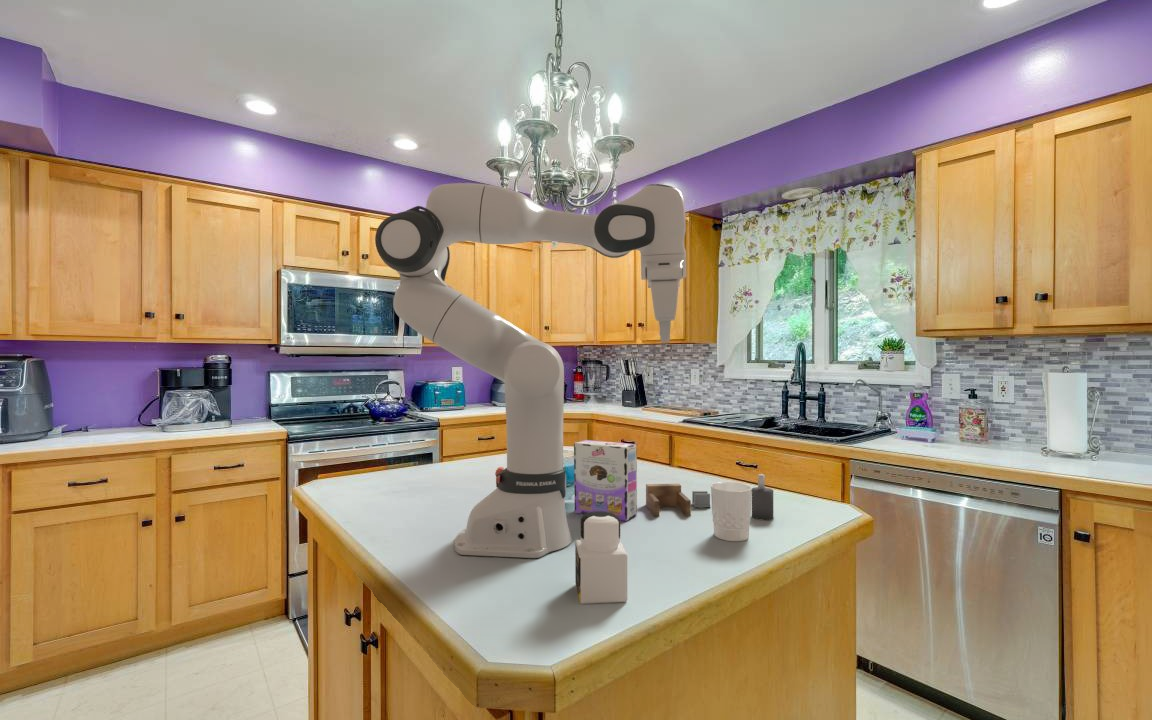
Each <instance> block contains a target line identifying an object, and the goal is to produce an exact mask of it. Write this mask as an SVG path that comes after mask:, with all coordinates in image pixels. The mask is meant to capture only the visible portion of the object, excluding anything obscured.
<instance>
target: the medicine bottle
mask: <svg viewBox="0 0 1152 720" xmlns="http://www.w3.org/2000/svg"><path fill="white" fill-rule="evenodd" d="M574 545H575V548H574V549H575V551H574V552H575V553H574V554H575V561H574V562H575V565H574V566H575V576H574V577H575V581H574V582H575V587H576V593H577V598H578V602H579V604H581V605H585V604H609V603H610V604H611V603H612V604H613V603H616V604H617V603H627V601H628V554H627V552H626V549H625V548H624V546H623V543H622V541H621V520H620V518H619V517H618V516H617V515H615V514H613V513H610V512H605V511H595V512H590V513H587V514H582V517H581V518H580V539H576V540H575V543H574Z"/></svg>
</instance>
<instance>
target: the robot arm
mask: <svg viewBox="0 0 1152 720" xmlns="http://www.w3.org/2000/svg"><path fill="white" fill-rule="evenodd" d="M684 200H685V199H684V197H683V195H682V192H681V191H680V190H679V189H678V188H676V187H674V186H671V185H667V184H660V183H655V184H654V183H651V184H646V185H644V186H643V187H642V189H640V190H639V191H637V192H636V193H634V194H632V195H631V196H629V197H628V198H625V199H624V200H621V201H619V202H616V203H613V204H610V205H608V206H606V207H605V208H603V209H602V210H601V211H600V212H599V213H596V214H589V215H588V214H582V213H574V212H567V211H562V210H554V209H550V208H548V207H546V206H542V205H541V204H539V203H537V202H536V201H534V200H532V199H531V198H529V197H528V196H527V195H526V194H524V193H521V192H519V191H516V190H514V189H510V188H507V187H503V186H499V185H492V184H486V183H485V184H484V183H469V182H468V183H467V182H465V183H464V182H458V183H445V184H439V185H437V186H435V187H434V188H433V189H432V190H431V191H430V193H429V195H428V197H427V199H426V205H425V207H424V206H423V205H422V206H421V205H416V206H413V207H411V208H409V209H407V210H405V211H400V212H397V213H395V214H391V215H390V216H388V217H386V218H385V219H384V220H382V222H381V223H380V224H379V225H378V227H377V229H376V232H375V237H374V241H375V248H376V250H377V253H378V256H379V257H380V258H381V259H382V261H383V262H384V264H385V265H386V266H388V267H389V268H390V269H392V270H394V271H396V272H397V274H399V279H400V281H399V282H400V283H399V286H398V287H397V289H396V291H395V293H394V297H393V302H392V305H393V309H394V312H395V314H396V315H397V316H398V318H399V319H401V320H402V321H403V322H404V323H405V324H407V325H408V326H409V327H410V328H411V329H412V330H414V331H415V332H417V333H418V334H419V335H421V336H422V337H424V338H425V339H426V340H429V341H430V342H432V343H433V344H435V345H437V346H438V347H440V348H441V349H443V350H445V351H447V352H448V353H450V354H452V355H454V356H455V357H457V358H459V359H460V360H461V361H464V362H465V363H467V364H469V365H471V366H472V367H475V368H477V369H478V370H481V372H482V371H483V372H485V373H487V374H488V375H490V376H492V377H494V378H496V379H498V380H500V381H501V382H503V383H504V403H505V404H504V405H505V420H506V421H505V422H506V423H505V424H506V468H504V467H503V466H499V467H498V468H496V469H495V472H494V473H495V487H496V488H495V489H494V490H493V491H492V492H490V493H489V494H488V495H486V496H485V497H484V498H483V499H481V500H480V501H479V502H477V503H476V504H475V505H474V507H473V508H472V509H471V511H470V513H469V516H468V517H467V518H468V519H467V524H466V528H464V529H462V530H461V531H460V532H459V533H458V534H457V535H456V537H455V539H454V545H453V546H454V551H455V552H456V553H457V554H459V555H462V556H479V557H480V556H484V557H501V558H502V557H504V558H505V557H506V558H527V559H536V558H537V559H538V558H542V557H543V556H546V555H547V554H549V553H551V552H554V551H558V550H561V549H564V548H566V547H567V546H568V545H570V544H571V543H572V541H573V538H572V535H571V530H570V528H569V524H568V519H567V518H568V517H567V511H566V510H567V509H566V504H565V502H566V501H565V498H566V493H567V474H566V468H565V467H564V409H565V408H564V407H565V406H564V405H565V404H564V402H565V400H564V395H565V394H564V393H565V390H564V389H565V365H564V362H563V359H562V357H561V355H560V354H559V352H558V350H556V348H554V347H553V346H551V345H550V344H549V343H546V342H544V341H541V340H539V339H537V338H536V337H534V336H533V335H531V334H529V333H528V332H526V331H524V330H523V329H522V328H520V327H519V326H516V325H515V324H513V323H511V322H510V321H508V320H507V319H505V318H503V317H502V316H500V315H499V314H497V313H496V312H493V311H492V310H490V309H488V308H487V307H486V306H484V305H482V304H480V303H478V302H477V301H475V300H474V299H472V298H470V297H469V296H466V294H463V293H462V292H460V291H459V290H457V289H455V288H453V287H452V286H450V285H449V284H448V283H446V282H445V280H446V275H447V271H448V268H449V263H450V257H451V256H450V255H451V252H450V248H449V247H450V246H452V245H453V244H455V243H459V242H472V243H477V244H487V245H514V244H515V245H516V244H523V243H531V242H541V241H542V242H543V241H544V242H545V241H546V242H549V241H550V242H555V243H556V242H558V243H564V244H573V245H579V246H580V245H581V246H584V247H589V248H590V249H592V250H594V251H595V252H597V253H598V254H600V255H602V256H605V257H607V258H611V259H618V258H622V257H625V256H627V255H629V253H631V252H632V251H639V253H640V279H641V280H644V281H647V288H648V289H650V293H651V298H652V299H651V300H652V307H653V313H654V318H655V321H656V322H658V325H659V336H660V337H659V339H660V343H661V344H668V343H670V341H671V321H675V320H676V314H677V310H678V309H677V307H678V297H679V288H680V286H681V283H680V281H681V280H682V279H686V278H687V250H686V248H685V236H686V231H687V229H686V228H687V226H686V225H687V223H686V221H687V219H686V208H685V202H684Z"/></svg>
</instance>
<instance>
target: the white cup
mask: <svg viewBox="0 0 1152 720" xmlns="http://www.w3.org/2000/svg"><path fill="white" fill-rule="evenodd" d="M752 488H753V487H752V486H750V485H748V484H745V483H740V482H733V481H730V482H729V481H719V482H713V483H711V485H710V499H711V515H712V523H713V535H714V537H716V538H717V539H720V540H723V541H727V542H744V541H747V540H749V537H750V523H751V515H752Z"/></svg>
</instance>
